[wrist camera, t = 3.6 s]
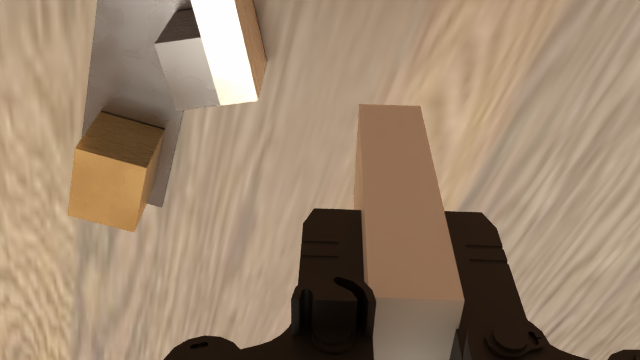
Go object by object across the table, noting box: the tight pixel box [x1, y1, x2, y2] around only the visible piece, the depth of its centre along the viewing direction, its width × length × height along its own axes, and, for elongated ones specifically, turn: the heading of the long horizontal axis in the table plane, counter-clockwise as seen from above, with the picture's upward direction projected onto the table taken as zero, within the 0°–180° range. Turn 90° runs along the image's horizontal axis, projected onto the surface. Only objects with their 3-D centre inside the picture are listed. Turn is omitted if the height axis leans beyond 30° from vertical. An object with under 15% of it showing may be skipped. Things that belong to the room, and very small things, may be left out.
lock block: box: [68, 112, 165, 232], centre depth 30 cm, size 4×3×3 cm
